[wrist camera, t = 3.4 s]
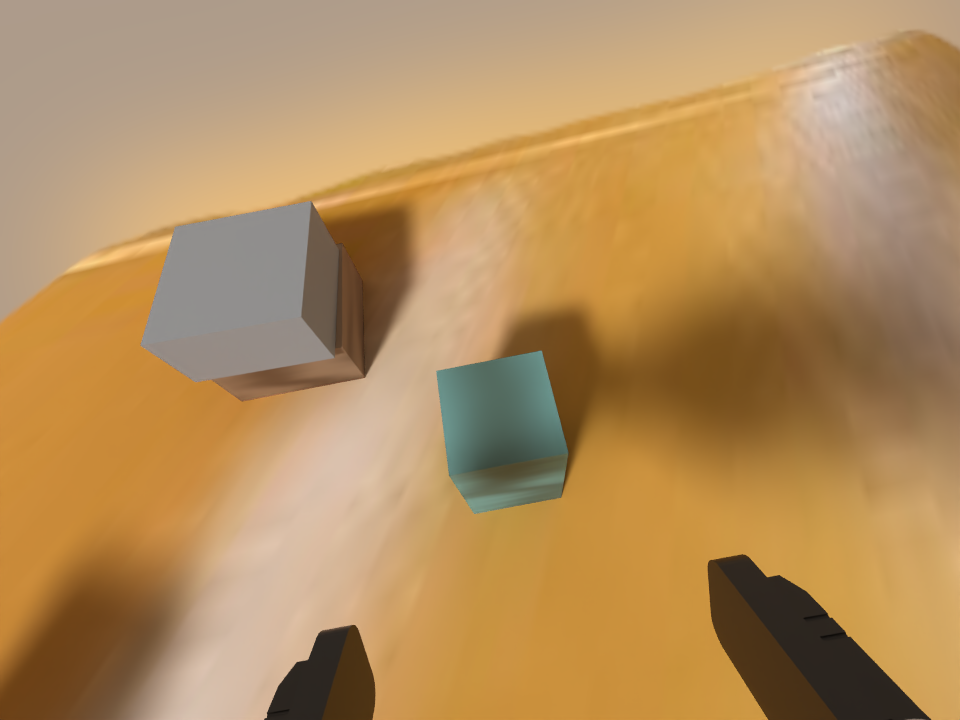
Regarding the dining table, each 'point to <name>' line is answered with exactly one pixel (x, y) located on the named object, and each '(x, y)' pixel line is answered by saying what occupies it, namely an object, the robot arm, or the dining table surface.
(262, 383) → the walnut block
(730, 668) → the dining table surface
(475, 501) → the teal block
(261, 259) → the grey block
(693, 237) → the dining table surface
